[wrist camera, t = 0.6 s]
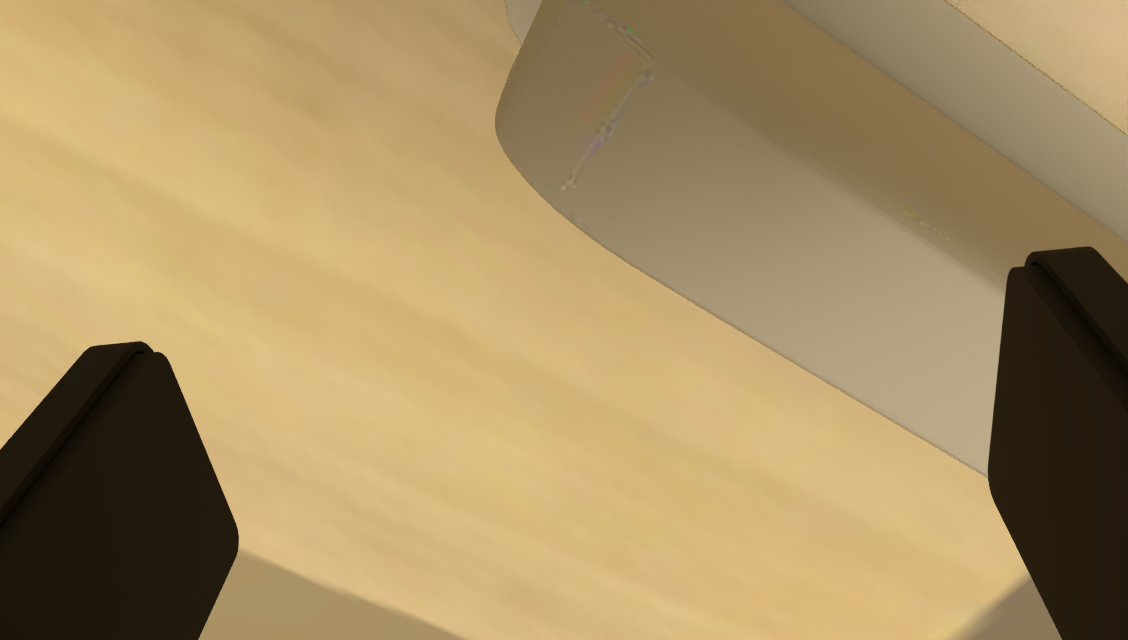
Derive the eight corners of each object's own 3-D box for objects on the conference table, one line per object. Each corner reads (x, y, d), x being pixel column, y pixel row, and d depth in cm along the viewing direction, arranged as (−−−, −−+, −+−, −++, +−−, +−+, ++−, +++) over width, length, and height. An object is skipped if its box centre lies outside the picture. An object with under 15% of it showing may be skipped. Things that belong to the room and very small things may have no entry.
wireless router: (451, 15, 36) (302, 269, 18) (602, -254, 31) (590, -251, 14) (1070, 406, 43) (1375, 846, 26) (1263, 234, 39) (1787, 628, 21)
